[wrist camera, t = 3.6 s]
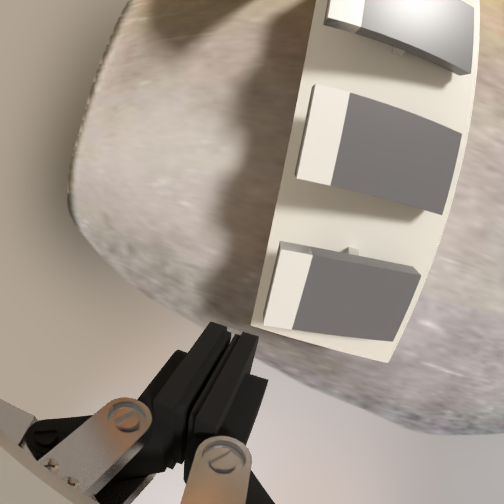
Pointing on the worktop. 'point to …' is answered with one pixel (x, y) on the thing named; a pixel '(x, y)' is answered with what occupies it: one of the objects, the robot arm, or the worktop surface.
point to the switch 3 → (338, 293)
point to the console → (354, 203)
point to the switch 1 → (412, 27)
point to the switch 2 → (376, 150)
